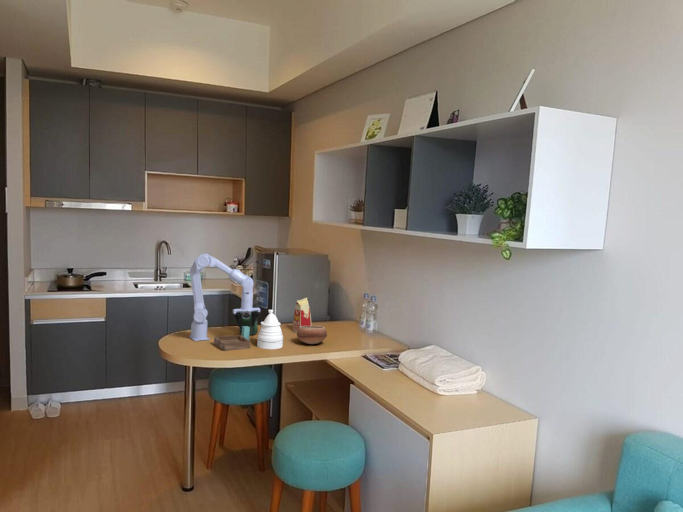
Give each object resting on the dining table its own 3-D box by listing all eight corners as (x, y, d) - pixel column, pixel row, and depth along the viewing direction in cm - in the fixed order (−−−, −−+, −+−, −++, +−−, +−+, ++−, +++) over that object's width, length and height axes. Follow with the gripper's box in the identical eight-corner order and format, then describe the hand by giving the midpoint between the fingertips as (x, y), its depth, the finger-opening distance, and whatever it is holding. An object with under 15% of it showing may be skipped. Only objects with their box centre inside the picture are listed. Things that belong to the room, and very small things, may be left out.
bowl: (322, 340, 286) (323, 321, 285) (329, 347, 271) (330, 328, 270) (294, 340, 282) (295, 321, 281) (298, 347, 267) (300, 328, 266)
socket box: (213, 343, 264) (214, 337, 264) (239, 341, 272) (239, 334, 271) (223, 350, 253) (224, 343, 253) (250, 348, 260) (250, 341, 260)
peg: (241, 339, 276) (242, 326, 276) (246, 339, 278) (247, 326, 277) (243, 340, 274) (244, 327, 273) (249, 340, 275) (249, 327, 275)
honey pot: (254, 343, 271) (256, 308, 269) (278, 342, 276) (280, 308, 274) (260, 349, 259) (262, 313, 257) (285, 348, 264) (287, 313, 262)
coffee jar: (259, 333, 292) (261, 300, 291) (253, 336, 285) (255, 302, 283) (243, 331, 295) (245, 298, 293) (237, 334, 287) (238, 300, 286)
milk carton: (304, 329, 308) (306, 295, 306) (312, 333, 300) (314, 298, 298) (290, 330, 303) (292, 296, 301) (297, 334, 295) (299, 299, 293)
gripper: (237, 302, 267) (235, 328, 268) (263, 301, 275) (262, 326, 276) (231, 300, 273) (230, 325, 274) (257, 298, 281) (256, 323, 282)
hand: (246, 326), depth 275 cm, fingers open, 7 cm apart
